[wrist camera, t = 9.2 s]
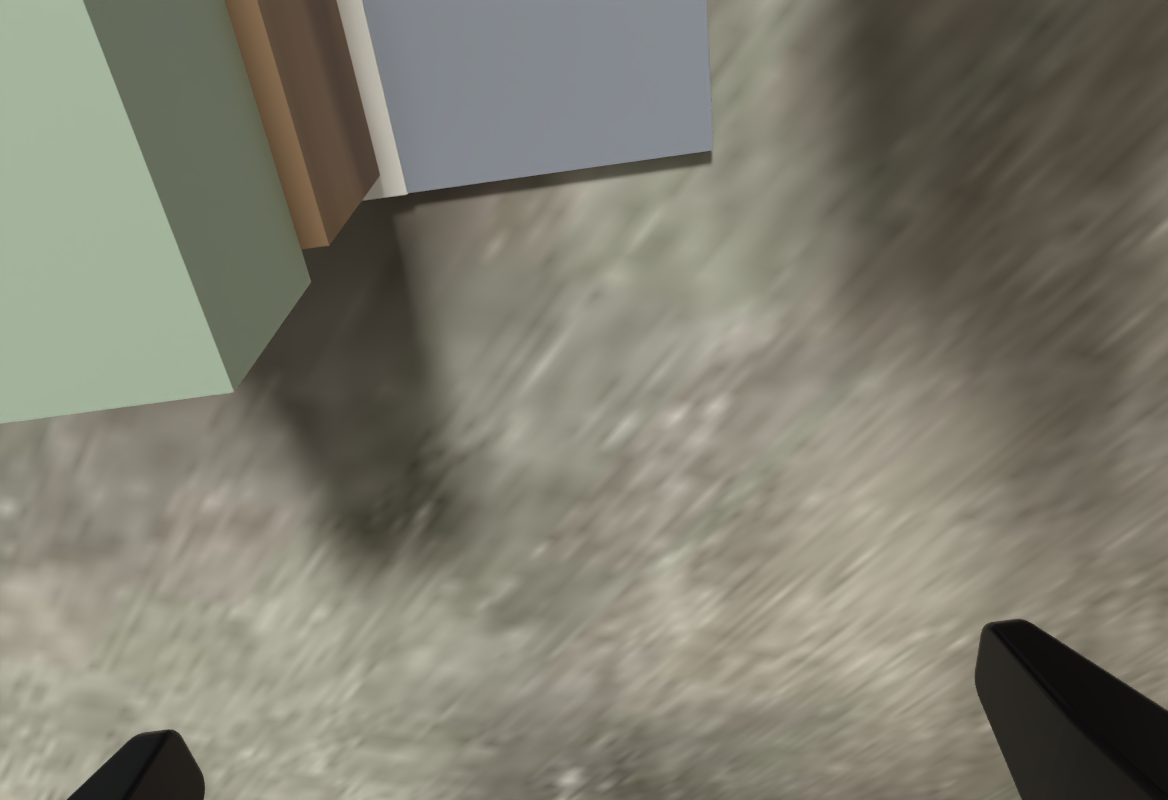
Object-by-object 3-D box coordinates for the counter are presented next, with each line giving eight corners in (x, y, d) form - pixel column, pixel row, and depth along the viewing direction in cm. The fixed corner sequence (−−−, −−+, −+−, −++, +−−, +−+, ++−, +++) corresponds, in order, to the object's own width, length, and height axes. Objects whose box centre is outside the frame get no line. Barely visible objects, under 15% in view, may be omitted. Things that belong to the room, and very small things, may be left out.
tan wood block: (315, -84, 15) (227, -101, 11) (380, 175, 18) (329, 245, 13) (62, -47, 15) (-125, -48, 11) (160, 206, 18) (39, 286, 14)
